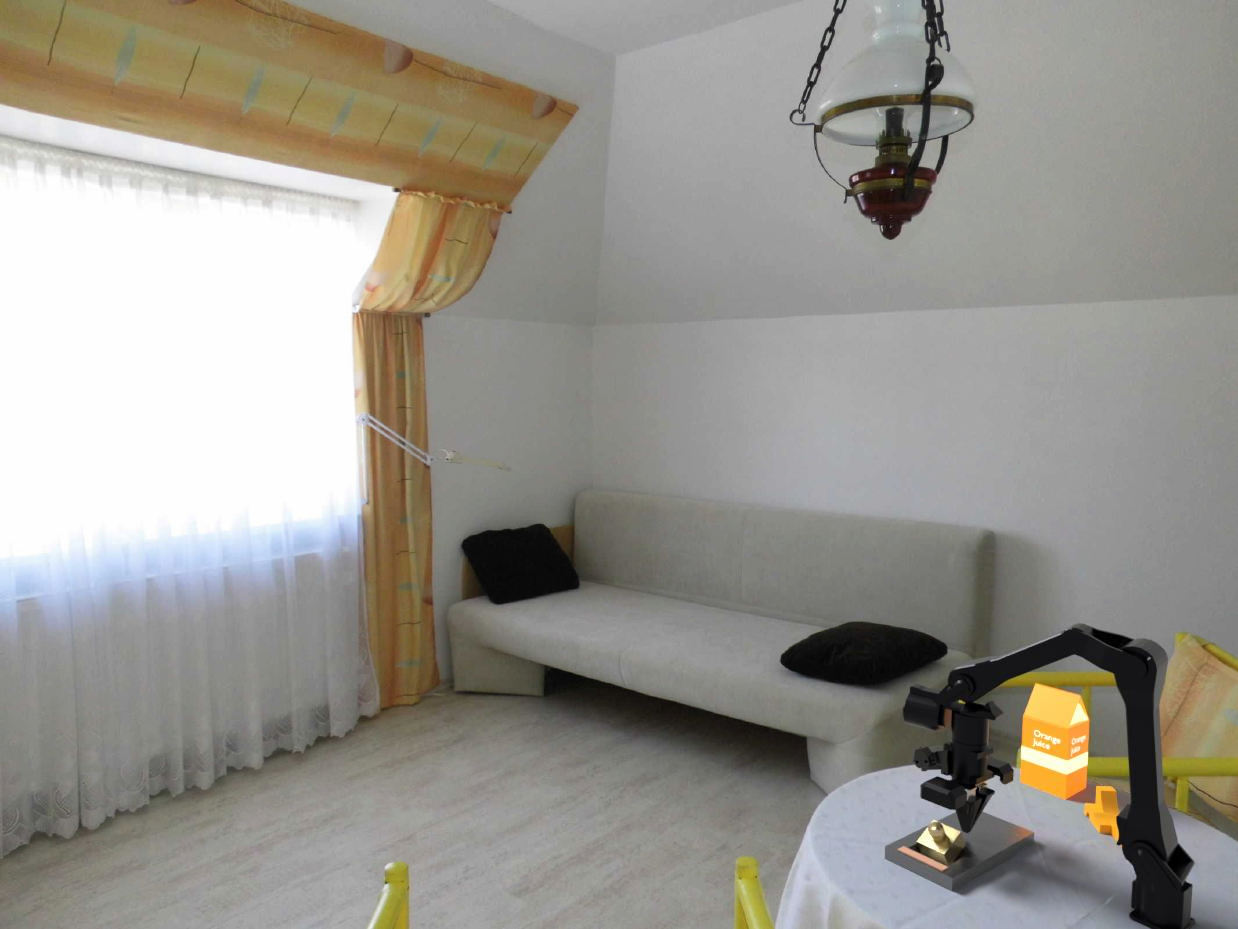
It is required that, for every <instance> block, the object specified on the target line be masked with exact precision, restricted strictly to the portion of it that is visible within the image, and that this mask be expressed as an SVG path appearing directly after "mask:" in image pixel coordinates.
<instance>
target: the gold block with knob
mask: <svg viewBox="0 0 1238 929" xmlns="http://www.w3.org/2000/svg"><path fill="white" fill-rule="evenodd" d="M928 825H929V826H928ZM928 825H927V826H928V827H927V829H926V830H925V831H924V833H923V834H922V835H921V837H920V838H919V839H918V841H917V844H918V847H919V849H920V852H921V853H920V854H922V855H924V856H927V857H929V858H931V859H933V860H935V861H937V862H939V863H942V864H944V865H946V866H948V865H950V864H952V863H954V862H955V861H956V859H957V858H956V857H957V856H958V855H959V853H960V852H961V851H962V849H963V848H964V846H965V842H964V839H963V836H962V833H961V832H960V831H958V830H956V829H954V828H951V827H949V826H947V825H944V824H942V823H940V822H938V820H935V819H933V820H932V821H931V822H930V823H929V824H928Z"/></svg>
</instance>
